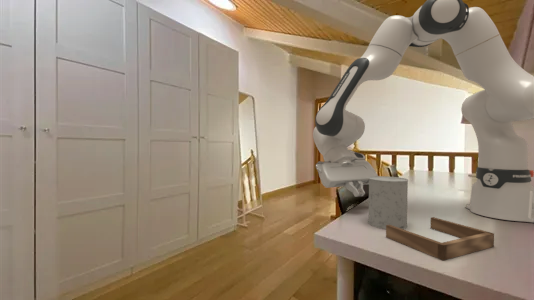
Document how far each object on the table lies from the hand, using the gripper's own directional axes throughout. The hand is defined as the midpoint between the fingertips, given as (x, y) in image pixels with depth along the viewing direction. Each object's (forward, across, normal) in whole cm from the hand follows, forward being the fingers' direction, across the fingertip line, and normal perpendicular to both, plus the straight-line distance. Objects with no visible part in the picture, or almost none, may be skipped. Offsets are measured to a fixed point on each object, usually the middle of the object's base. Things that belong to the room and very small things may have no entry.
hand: (360, 195), depth 79 cm
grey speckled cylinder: (+11, 0, -3) cm, 12 cm away
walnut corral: (+21, 0, -12) cm, 24 cm away
